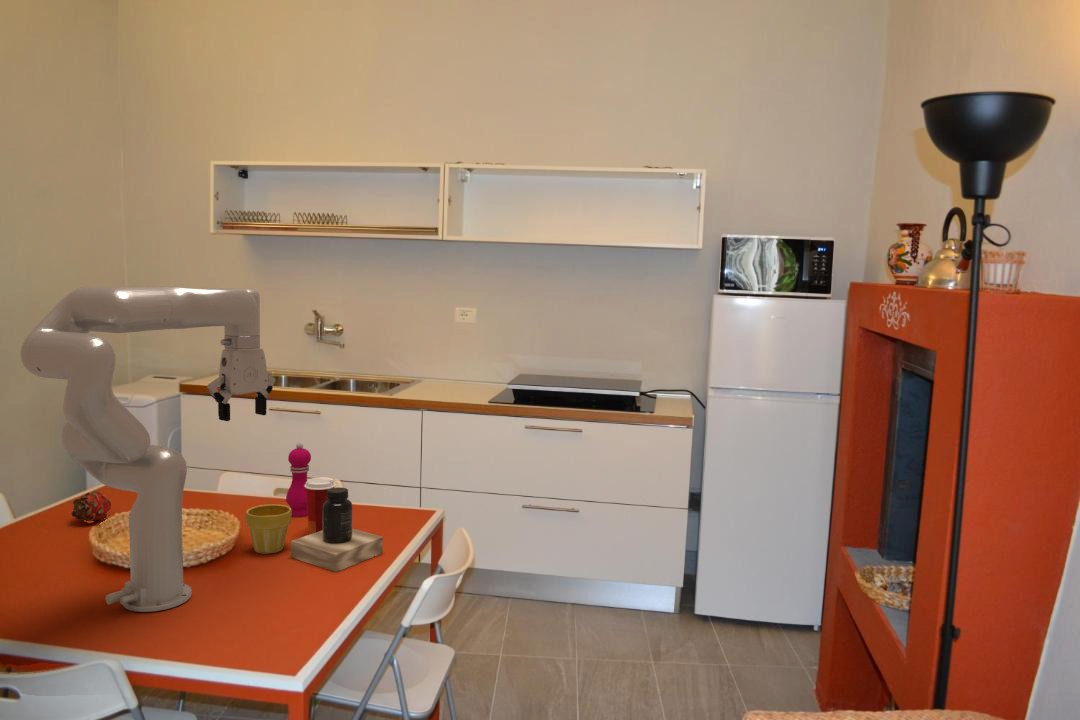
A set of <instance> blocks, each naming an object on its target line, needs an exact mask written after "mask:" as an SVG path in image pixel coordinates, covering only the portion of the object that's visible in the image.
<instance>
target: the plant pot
mask: <svg viewBox="0 0 1080 720" xmlns="http://www.w3.org/2000/svg"><path fill="white" fill-rule="evenodd" d="M292 517H293V516H292V510H291V508H290V506H289V505H285V504H278V503H277V504H276V503H275V504H272V503H270V504H260V505H256V506H253V507H250V508H248V509H247V510H246V512H245V525H246V527H248V528H249V532H250V537H251V542H252V546H253V550H254V552H255V553H257V554H265V555H271V554H276V553H278V552H281V551H282V550H283V549H284V545H285V543H286V542H285V541H286V537H287V532H288V527H289V526H290V524H291V523H292Z"/></svg>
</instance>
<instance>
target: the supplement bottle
mask: <svg viewBox="0 0 1080 720" xmlns="http://www.w3.org/2000/svg"><path fill="white" fill-rule="evenodd" d="M327 499H328V500H327V501H325V502H324V504H323V540H324V541H325V542H327V543H332V544H339V543H345V542H348V541H349V540H351V538H352V528H353V502H352V501H351V500H350V499H349V489H348V488H346V487H342V486H341V487H340V486H339V487H334V488H331V489H328V490H327Z"/></svg>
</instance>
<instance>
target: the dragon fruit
mask: <svg viewBox="0 0 1080 720" xmlns="http://www.w3.org/2000/svg"><path fill="white" fill-rule="evenodd" d="M72 503H73V508H72V509H73V511H72V512H71V516H72V517H73V518H76V519H77V520H80V521H82V520H86V521H95V522H96V521H100V520H99V519H103V520H104V518H106V519H107V515H108V512H109V511H110V510H111V508H112V502H111V500H110V499H109V498H108V497H107V496H106V495H105V494H103V493H101V492H100V491H96V490H93V491H92V492H87V493H85V494H82V495H81V497H80V498H76V499H74V500H73V501H72Z"/></svg>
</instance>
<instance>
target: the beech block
mask: <svg viewBox="0 0 1080 720" xmlns="http://www.w3.org/2000/svg"><path fill="white" fill-rule="evenodd" d="M383 553H384V537H383V536H381V535H379V534H378V535H377V534H373V533H369V532H366V531H363V530H360V529H356V528H353V527H352V538H351V540H349V541H348V542H345V543H339V544H332V543H327V542H325V541H324V540H323V530H322V531H319V532H316V533H313V534H310V535H309V534H307V535H305V536H301V537H299V538H295V539H293V540H290V558H291V559H295V560H298V561H301V562H304V563H308V564H310V565H313V566H316V567H318V568H322V569H325V570H328V571H332V572H335V573H337V572H339V571H342V570H344V569H347V568H350V567H353V566H355V565H356V564H359V563H361V562H364V561H367V560H369V559H372V558H375V557H376V556H380V555H382V554H383ZM374 556H375V557H374Z"/></svg>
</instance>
